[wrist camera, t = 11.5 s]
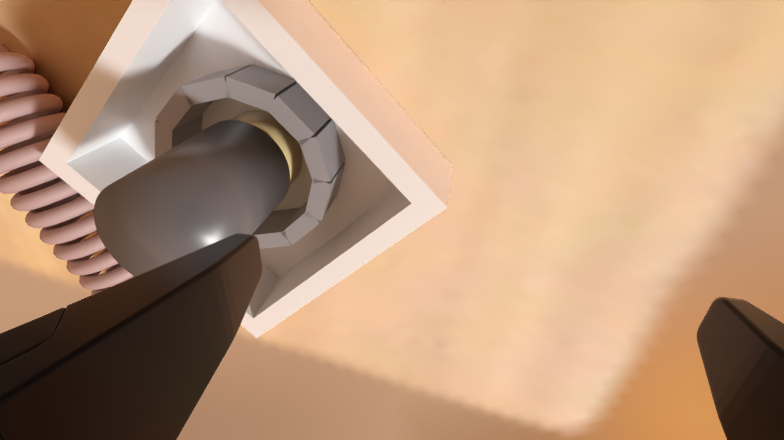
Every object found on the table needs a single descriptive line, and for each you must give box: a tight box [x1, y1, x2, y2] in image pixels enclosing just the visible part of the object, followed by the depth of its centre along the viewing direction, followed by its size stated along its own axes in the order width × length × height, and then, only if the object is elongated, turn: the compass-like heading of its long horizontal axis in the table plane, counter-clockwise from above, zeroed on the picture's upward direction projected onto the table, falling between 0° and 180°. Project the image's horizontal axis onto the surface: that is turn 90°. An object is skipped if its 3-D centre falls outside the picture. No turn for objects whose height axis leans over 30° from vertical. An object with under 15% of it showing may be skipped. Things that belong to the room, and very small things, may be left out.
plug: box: [94, 111, 303, 277], centre depth 18 cm, size 4×4×8 cm
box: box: [39, 0, 453, 338], centre depth 20 cm, size 13×13×4 cm
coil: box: [0, 44, 135, 295], centre depth 23 cm, size 5×5×18 cm
